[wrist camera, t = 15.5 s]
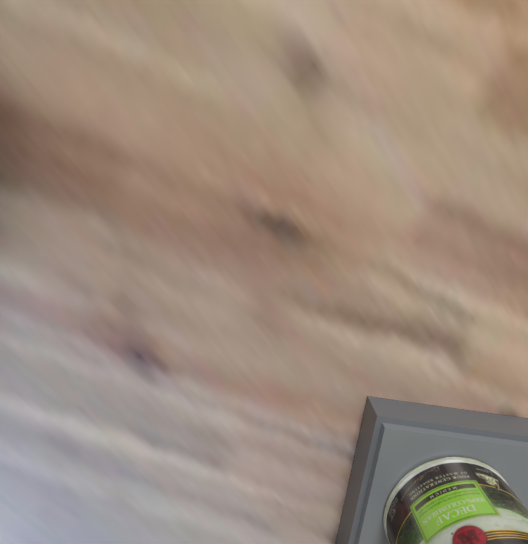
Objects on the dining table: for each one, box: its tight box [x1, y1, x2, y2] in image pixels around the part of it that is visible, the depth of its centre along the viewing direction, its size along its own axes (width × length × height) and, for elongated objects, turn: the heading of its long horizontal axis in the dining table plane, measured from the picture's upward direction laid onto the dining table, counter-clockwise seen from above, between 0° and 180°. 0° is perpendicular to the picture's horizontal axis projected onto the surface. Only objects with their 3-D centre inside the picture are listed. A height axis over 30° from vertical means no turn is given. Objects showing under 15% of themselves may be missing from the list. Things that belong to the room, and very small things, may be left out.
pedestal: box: [336, 397, 528, 544], centre depth 41 cm, size 14×14×4 cm
